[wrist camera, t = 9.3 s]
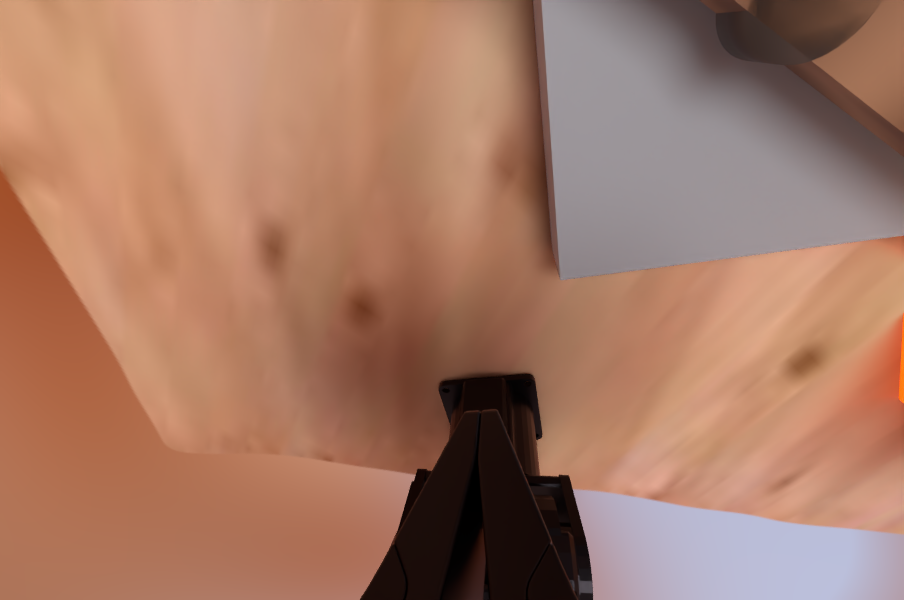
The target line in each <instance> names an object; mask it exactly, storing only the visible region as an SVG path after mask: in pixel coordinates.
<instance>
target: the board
mask: <svg viewBox="0 0 904 600" xmlns="http://www.w3.org/2000/svg"><path fill="white" fill-rule="evenodd" d="M533 9H534V22H535V35H536V48H537V61H538V74H539V87H540V100H541V113H542V126H543V138H544V151H545V164H546V177H547V190H548V203H549V216H550V229H551V242H552V251H553V255H554V259H555V262H556V266H557V270H558V274H559V277H560V280H567V279H575V278H582V277H590V276H598V275H605V274H613V273H621V272H628V271H636V270H644V269H651V268H659V267H667V266H674V265H682V264H690V263H697V262H705V261H713V260H720V259H728V258H736V257H743V256H751V255H759V254H766V253H774V252H782V251H789V250H797V249H805V248H812V247H820V246H828V245H835V244H843V243H851V242H858V241H866V240H874V239H881V238H889V237H897V236H904V157H903V156H902V155H900V154H899V153H898V152H897V151H895V150H894V149H893V148H891V147H890V146H889V145H887V144H886V143H885V142H884V141H882V140H881V139H880V138H878V137H877V136H876V135H874V134H873V133H872V132H870V131H869V130H868V129H867V128H865V127H864V126H863V125H861V124H860V123H859V122H857V121H856V120H855V119H853V118H852V117H851V116H850V115H848V114H847V113H846V112H844V111H843V110H842V109H840V108H839V107H838V106H837V105H835V104H834V103H833V102H831V101H830V100H829V99H827V98H826V97H825V96H823V95H822V94H821V93H820V92H818V91H817V90H816V89H814V88H813V87H812V86H810V85H809V84H808V83H806V82H805V81H804V80H803V79H801V78H800V77H799V76H797V75H796V74H795V73H793V72H792V71H791V70H789V69H788V68H787V67H786V66H784V65H777V64H769V63H760V62H751V61H745V60H741V59H738V58H735V57H734V56H732V55H730V54H729V53H728V52H727V51H726V50H725V49H724V47H723V46H722V44H721V42H720V40H719V38H718V35H717V30H716V13H715V12H714V11H712V10H711V9H710V8H709V7H707V6H706V5H705V4H703V3H702V2H701V1H699V0H533Z"/></svg>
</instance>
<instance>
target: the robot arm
mask: <svg viewBox="0 0 904 600" xmlns="http://www.w3.org/2000/svg"><path fill="white" fill-rule="evenodd" d="M526 381H529V382H526ZM446 388H448V389H446ZM439 393H440V396H441V399H442V402H443V405H444V408H445V411H446V413H447V416H448V419H449V422H450V425H451V426H450V435H449V441H448V443H447V445H446V446H445V448H444V450H443V452H442V454H441V456H440V457H439V459H438V461H437V463H436V465H435V467H434V468H433V470H432V471H427V469H417V473H416V476H415V480H414V481H413V482H412V483H411V486H410V490H409V493H408V497H407V500H406V504H405V507H404V511H403V514H402V518H401V521H400V525H399V528H398V531H397V533H396V535H395V537H394V540H393V542H392V544H391V546H390V548H389V551H388V552H387V554H386V556H385V558H384V560H383V562H382V563H381V565H380V567H379V569H378V570H377V572H376V574H375V576H374V577H373V579H372V581H371V582H370V584H369V586H368V588H367V589H366V591H365V592H364V594H363V595H362V597H361V599H360V600H593V587H592V574H591V565H590V558H589V552H588V547H587V542H586V538H585V534H584V530H583V527H582V523H581V519H580V515H579V512H578V508H577V504H576V501H575V497H574V493H573V489H572V485H571V482H570V478H569V475H559V477H557V476H540V472H539V462H538V452H537V443H536V440H538V439H540V438H542V428H541V421H540V413H539V406H538V398H537V391H536V383H535V378H534V376H532V375H530V374H522V375H510V376H499V377H487V378H475V379H463V380H452V381H443V382H441V383H440V385H439Z"/></svg>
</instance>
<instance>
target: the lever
mask: <svg viewBox="0 0 904 600" xmlns="http://www.w3.org/2000/svg"><path fill="white" fill-rule="evenodd" d="M699 1H701V2H702V3H703V4H705V5H706V6H707V7H709V8H710V9H711V10H712V11H714V12H715V13H716V30H717V35H718V38H719V40H720V42H721V44H722V46H723V47H724V49H725V50H726V51H727V52H728V53H729V54H730V55H732V56H734V57H735V58H738V59H741V60H745V61H751V62H760V63H769V64H777V65H784V66H786V67H787V68H788V69H789V70H791V71H792V72H793V73H795V74H796V75H797V76H799V77H800V78H801V79H803V80H804V81H805V82H806V83H808V84H809V85H810V86H812V87H813V88H814V89H816V90H817V91H818V92H820V93H821V94H822V95H823V96H825V97H826V98H827V99H829V100H830V101H831V102H833V103H834V104H835V105H837V106H838V107H839V108H840V109H842V110H843V111H844V112H846V113H847V114H848V115H850V116H851V117H852V118H853V119H855V120H856V121H857V122H859V123H860V124H861V125H863V126H864V127H865V128H867V129H868V130H869V131H870V132H872V133H873V134H874V135H876V136H877V137H878V138H880V139H881V140H882V141H884V142H885V143H886V144H887V145H889V146H890V147H891V148H893V149H894V150H895V151H897V152H898V153H899V154H900V155H902V156H903V157H904V0H699Z"/></svg>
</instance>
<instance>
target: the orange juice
mask: <svg viewBox="0 0 904 600" xmlns="http://www.w3.org/2000/svg"><path fill="white" fill-rule="evenodd" d="M899 400H901V401H902V402H903V403H904V315H903V333H902V350H901V368H900V386H899Z"/></svg>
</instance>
